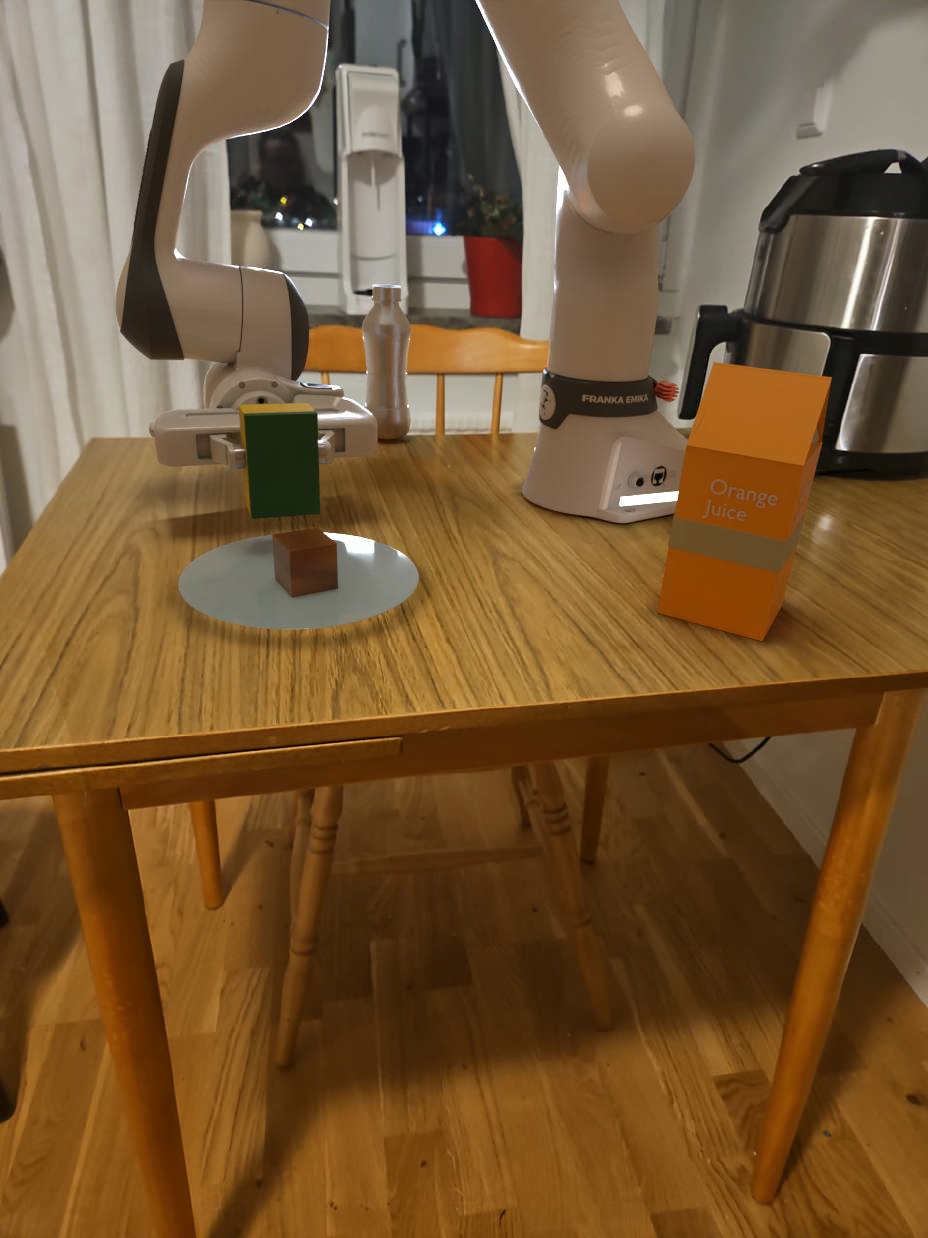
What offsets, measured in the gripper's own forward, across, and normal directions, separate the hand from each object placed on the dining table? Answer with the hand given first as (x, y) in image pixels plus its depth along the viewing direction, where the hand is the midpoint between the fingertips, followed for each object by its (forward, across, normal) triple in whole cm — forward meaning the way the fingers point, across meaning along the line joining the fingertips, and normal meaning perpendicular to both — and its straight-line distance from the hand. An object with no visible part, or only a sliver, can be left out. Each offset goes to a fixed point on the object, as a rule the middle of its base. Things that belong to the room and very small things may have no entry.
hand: (282, 457), depth 70 cm
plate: (+6, 0, +10) cm, 11 cm away
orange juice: (+20, +33, +10) cm, 40 cm away
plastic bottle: (-40, +21, +10) cm, 46 cm away
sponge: (-1, 0, +5) cm, 5 cm away
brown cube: (+8, 0, +8) cm, 12 cm away
